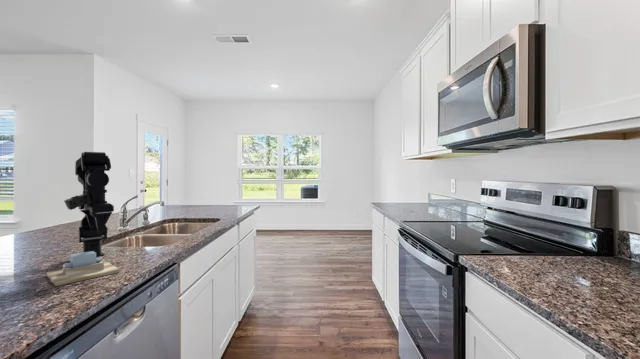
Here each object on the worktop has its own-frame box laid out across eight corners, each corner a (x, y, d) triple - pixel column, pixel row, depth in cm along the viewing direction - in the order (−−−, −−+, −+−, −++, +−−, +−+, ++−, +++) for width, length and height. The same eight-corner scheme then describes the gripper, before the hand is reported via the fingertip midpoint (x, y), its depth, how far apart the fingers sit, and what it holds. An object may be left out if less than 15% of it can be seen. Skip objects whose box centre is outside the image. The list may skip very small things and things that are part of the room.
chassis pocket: (46, 275, 97) (46, 265, 96) (105, 263, 109) (105, 254, 109) (55, 286, 88) (55, 274, 87) (119, 272, 100) (119, 262, 100)
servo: (64, 272, 96) (64, 255, 96) (98, 266, 103) (98, 250, 103) (67, 275, 94) (66, 258, 93) (102, 268, 100) (101, 252, 100)
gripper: (60, 187, 108) (61, 230, 109) (73, 189, 96) (74, 237, 97) (97, 186, 117) (98, 226, 117) (114, 187, 105) (114, 232, 105)
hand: (96, 230), depth 109 cm, fingers open, 9 cm apart
